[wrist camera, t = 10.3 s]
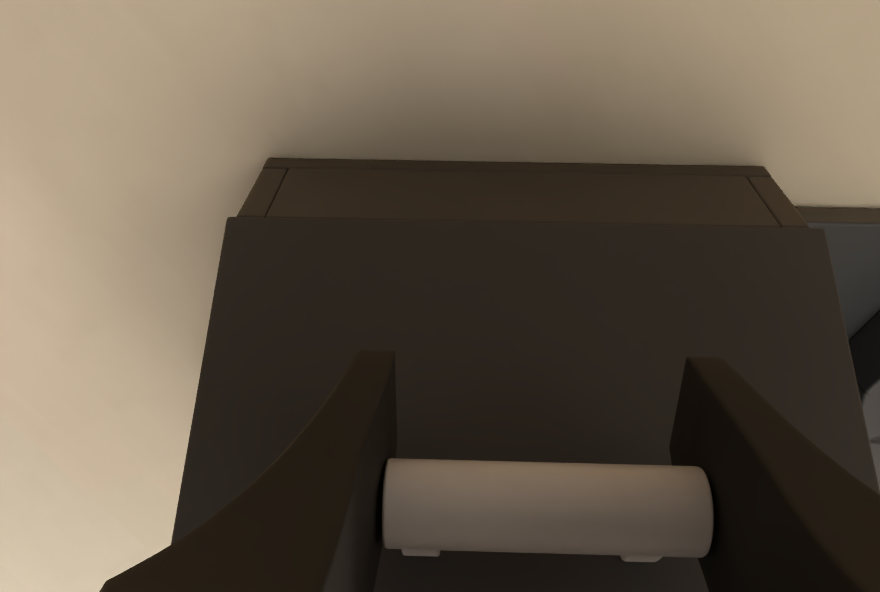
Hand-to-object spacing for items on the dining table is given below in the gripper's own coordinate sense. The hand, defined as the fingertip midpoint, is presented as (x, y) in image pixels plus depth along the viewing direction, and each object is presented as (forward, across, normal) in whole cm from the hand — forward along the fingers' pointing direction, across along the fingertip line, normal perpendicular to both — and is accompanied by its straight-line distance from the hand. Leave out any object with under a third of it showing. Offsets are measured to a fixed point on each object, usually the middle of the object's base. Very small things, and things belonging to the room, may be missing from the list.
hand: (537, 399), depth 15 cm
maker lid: (0, 0, +3) cm, 3 cm away
